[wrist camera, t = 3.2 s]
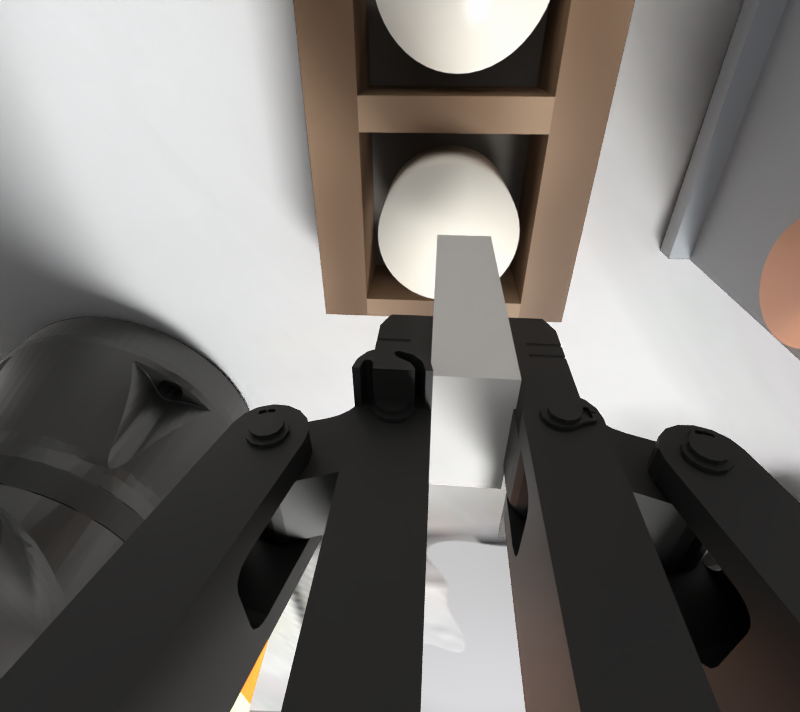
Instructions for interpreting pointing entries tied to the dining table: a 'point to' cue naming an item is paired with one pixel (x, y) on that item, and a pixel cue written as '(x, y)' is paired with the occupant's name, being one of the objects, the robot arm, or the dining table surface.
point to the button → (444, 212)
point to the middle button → (460, 30)
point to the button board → (455, 141)
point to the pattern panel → (750, 174)
